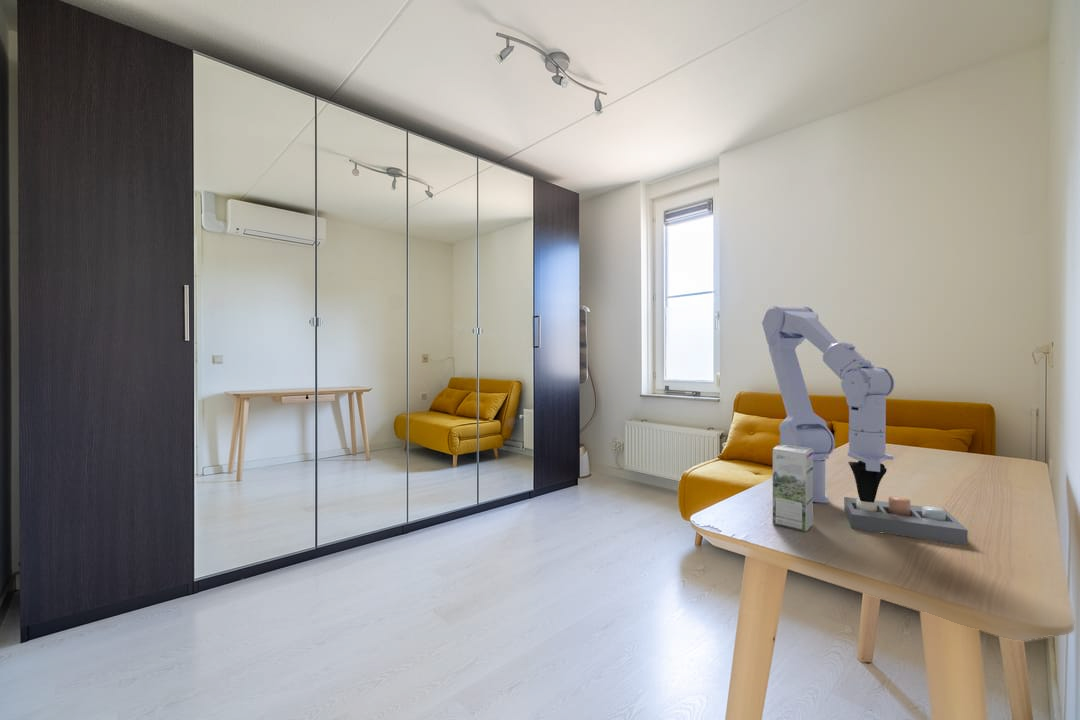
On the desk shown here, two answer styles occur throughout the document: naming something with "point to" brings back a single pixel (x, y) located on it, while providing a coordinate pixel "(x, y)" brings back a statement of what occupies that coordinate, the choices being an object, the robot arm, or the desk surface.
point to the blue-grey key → (933, 513)
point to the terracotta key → (899, 506)
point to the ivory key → (866, 505)
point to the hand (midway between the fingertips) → (866, 501)
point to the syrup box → (793, 487)
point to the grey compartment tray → (905, 523)
